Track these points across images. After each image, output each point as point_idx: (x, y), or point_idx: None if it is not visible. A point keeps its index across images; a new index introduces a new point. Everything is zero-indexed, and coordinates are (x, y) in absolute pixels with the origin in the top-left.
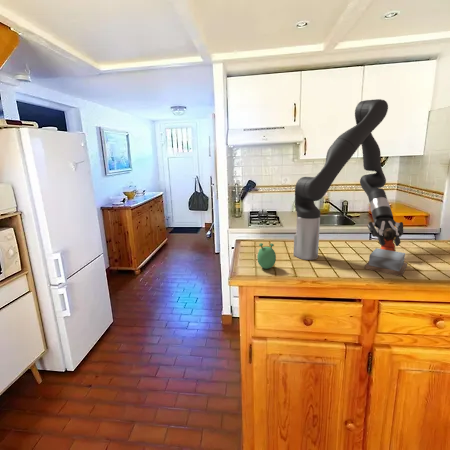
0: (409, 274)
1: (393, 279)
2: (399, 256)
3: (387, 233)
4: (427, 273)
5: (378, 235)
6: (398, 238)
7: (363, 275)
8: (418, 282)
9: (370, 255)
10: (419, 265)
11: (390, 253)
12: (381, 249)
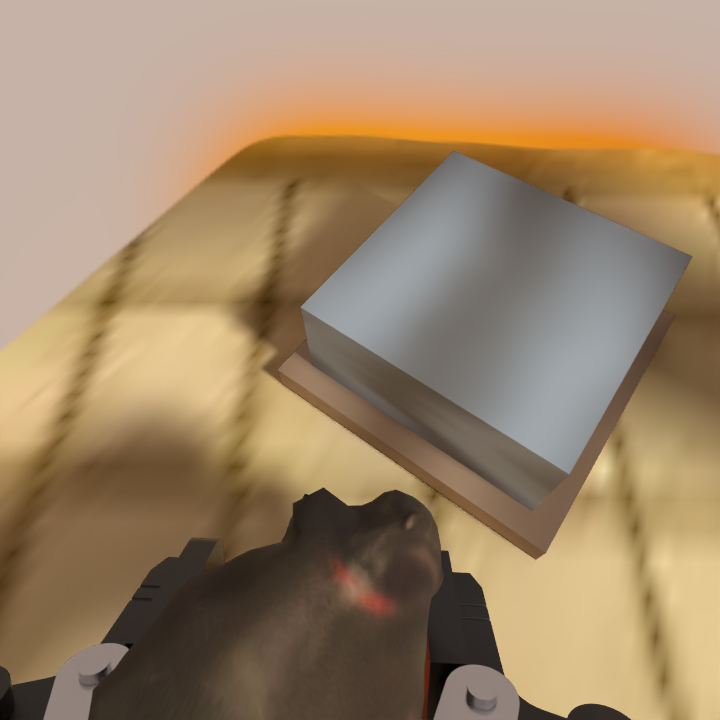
0: None
1: None
2: (414, 226)
3: (405, 509)
4: (233, 256)
5: (523, 702)
6: (139, 617)
7: (687, 226)
8: (380, 155)
9: (683, 253)
10: (169, 392)
11: (463, 296)
12: (512, 423)
